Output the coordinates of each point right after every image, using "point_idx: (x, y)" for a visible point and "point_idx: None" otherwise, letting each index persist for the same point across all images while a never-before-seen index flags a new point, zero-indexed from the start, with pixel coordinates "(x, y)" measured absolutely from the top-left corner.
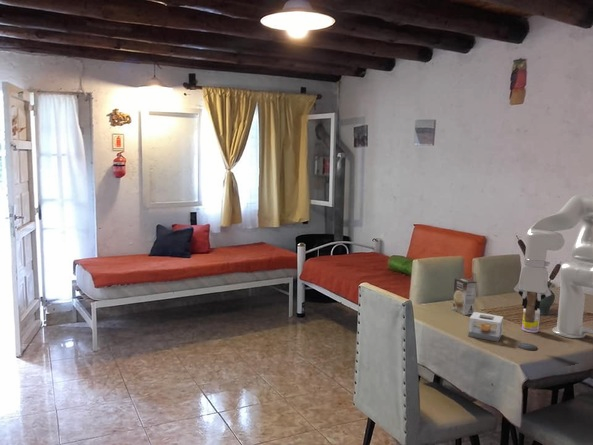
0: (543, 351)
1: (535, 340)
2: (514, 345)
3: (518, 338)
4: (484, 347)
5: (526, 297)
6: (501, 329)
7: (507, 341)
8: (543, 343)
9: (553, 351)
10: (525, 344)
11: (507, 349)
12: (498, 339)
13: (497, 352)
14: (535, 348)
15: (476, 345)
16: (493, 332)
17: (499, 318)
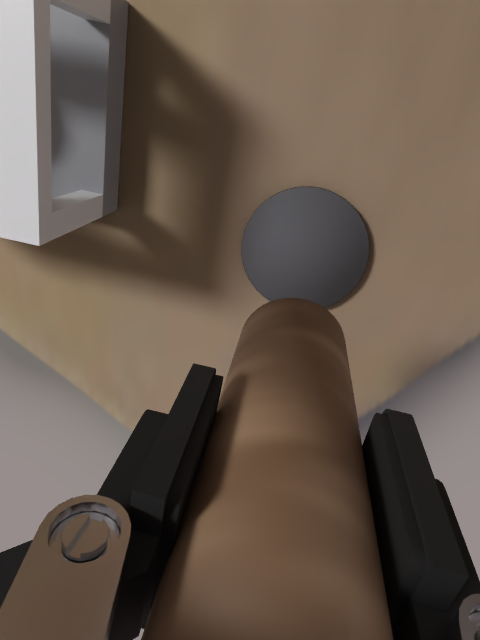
0: (399, 298)
1: (405, 41)
2: (219, 246)
3: (262, 50)
4: (55, 343)
5: (155, 546)
6: (100, 20)
7: (175, 175)
8: (457, 104)
9: (475, 275)
10: (294, 220)
11: (175, 334)
12: (109, 213)
13: (126, 394)
14: (351, 282)
15: (11, 325)
16: (52, 110)
17: (8, 67)
